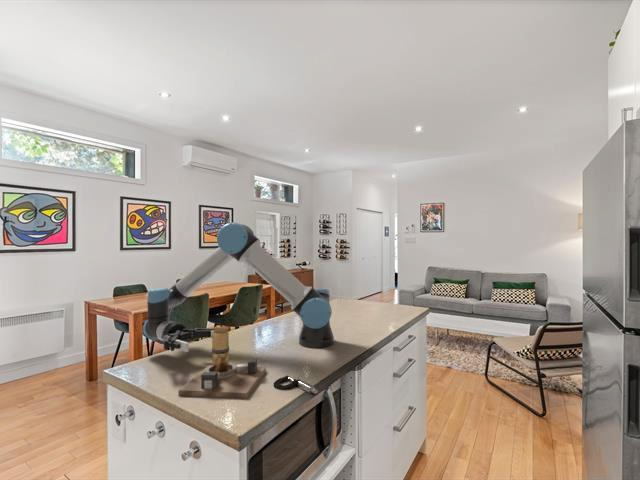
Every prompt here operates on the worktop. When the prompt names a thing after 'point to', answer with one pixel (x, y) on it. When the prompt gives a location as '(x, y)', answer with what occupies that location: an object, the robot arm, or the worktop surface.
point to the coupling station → (225, 381)
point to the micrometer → (294, 383)
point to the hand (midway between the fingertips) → (206, 342)
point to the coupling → (220, 349)
